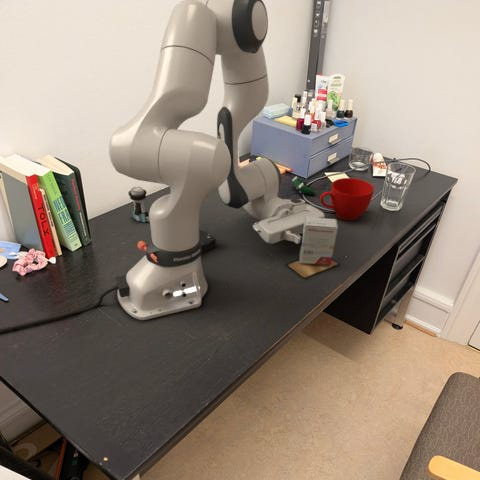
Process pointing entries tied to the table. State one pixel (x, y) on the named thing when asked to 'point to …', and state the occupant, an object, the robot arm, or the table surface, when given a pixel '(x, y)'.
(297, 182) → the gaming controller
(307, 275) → the gold rectangular plate
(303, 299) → the table surface
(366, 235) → the table surface
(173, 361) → the table surface
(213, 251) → the table surface
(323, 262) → the ink box
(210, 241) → the disk drive
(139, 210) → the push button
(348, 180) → the ceramic cup
